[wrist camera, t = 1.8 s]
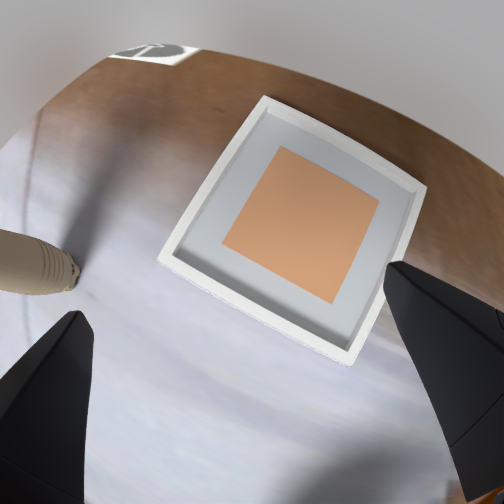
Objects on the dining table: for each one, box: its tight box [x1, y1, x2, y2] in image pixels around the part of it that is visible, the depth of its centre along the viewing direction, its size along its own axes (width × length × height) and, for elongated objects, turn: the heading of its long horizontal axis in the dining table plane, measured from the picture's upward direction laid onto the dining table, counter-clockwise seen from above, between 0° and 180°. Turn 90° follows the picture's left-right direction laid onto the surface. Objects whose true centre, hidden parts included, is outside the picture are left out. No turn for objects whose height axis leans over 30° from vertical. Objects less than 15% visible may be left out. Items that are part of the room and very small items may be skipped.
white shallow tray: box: [157, 95, 427, 367], centre depth 22 cm, size 16×16×2 cm
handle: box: [0, 229, 80, 295], centre depth 15 cm, size 5×6×15 cm
